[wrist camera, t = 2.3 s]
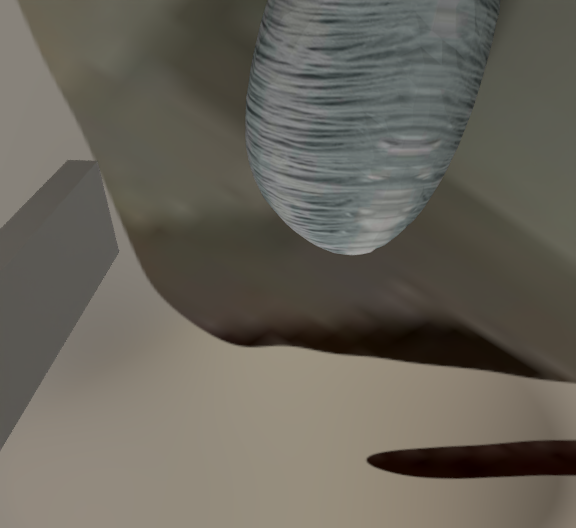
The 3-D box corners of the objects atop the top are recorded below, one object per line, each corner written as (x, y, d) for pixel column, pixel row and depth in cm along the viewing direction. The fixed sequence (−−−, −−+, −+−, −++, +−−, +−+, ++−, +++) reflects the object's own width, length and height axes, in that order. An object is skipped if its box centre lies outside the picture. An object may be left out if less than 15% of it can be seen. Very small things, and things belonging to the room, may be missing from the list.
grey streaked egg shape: (248, -191, 17) (367, -38, 12) (479, -135, 21) (648, 1, 15) (196, 138, 27) (247, 298, 22) (356, 137, 31) (432, 274, 26)
